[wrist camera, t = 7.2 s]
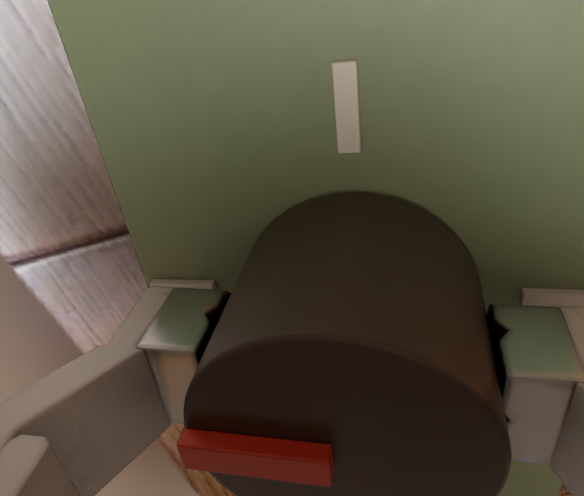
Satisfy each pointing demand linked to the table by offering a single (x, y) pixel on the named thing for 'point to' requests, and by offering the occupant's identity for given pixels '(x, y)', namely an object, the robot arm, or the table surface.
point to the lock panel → (342, 130)
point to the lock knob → (351, 362)
